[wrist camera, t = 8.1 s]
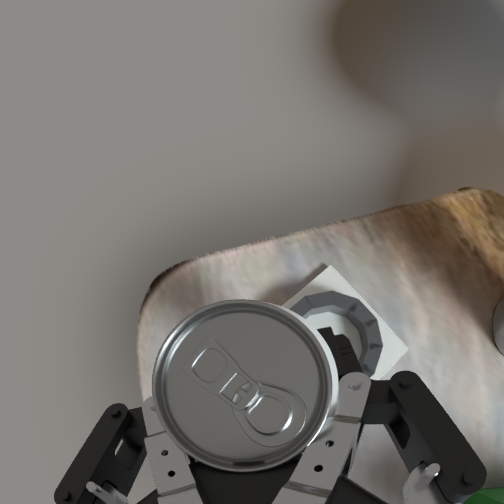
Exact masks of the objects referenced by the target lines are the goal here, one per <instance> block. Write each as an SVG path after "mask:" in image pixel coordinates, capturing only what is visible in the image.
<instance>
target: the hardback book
mask: <svg viewBox="0 0 504 504" xmlns="http://www.w3.org/2000/svg"><path fill="white" fill-rule="evenodd" d="M464 504H504V487H500V488H489V489H479V490H478V491H477V492H476V493H475V494H473V495H472V496H471V497H470V498H469V499H467V500H466V501H465V502H464Z"/></svg>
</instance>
